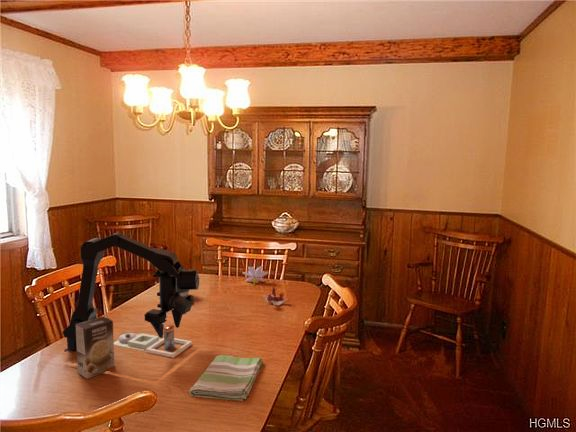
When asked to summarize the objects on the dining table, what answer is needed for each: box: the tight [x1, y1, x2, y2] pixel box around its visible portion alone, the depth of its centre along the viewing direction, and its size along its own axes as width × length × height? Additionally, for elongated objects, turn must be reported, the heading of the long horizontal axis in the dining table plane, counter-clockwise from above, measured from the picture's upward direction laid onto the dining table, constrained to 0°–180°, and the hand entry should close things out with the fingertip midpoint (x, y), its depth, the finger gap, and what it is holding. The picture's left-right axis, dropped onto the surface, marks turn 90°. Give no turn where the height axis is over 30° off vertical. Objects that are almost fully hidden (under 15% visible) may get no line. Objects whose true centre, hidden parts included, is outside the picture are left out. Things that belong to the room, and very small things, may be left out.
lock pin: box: [163, 324, 175, 351], centre depth 149 cm, size 4×4×8 cm
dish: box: [145, 337, 193, 359], centre depth 149 cm, size 11×11×2 cm
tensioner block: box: [114, 332, 162, 352], centre depth 154 cm, size 10×14×3 cm
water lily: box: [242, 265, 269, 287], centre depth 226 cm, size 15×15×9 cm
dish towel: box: [188, 354, 264, 402], centre depth 131 cm, size 17×23×4 cm
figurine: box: [261, 285, 288, 307], centre depth 197 cm, size 15×12×7 cm
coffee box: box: [76, 316, 115, 380], centre depth 134 cm, size 9×6×16 cm
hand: (169, 332), depth 148 cm, fingers open, 9 cm apart
